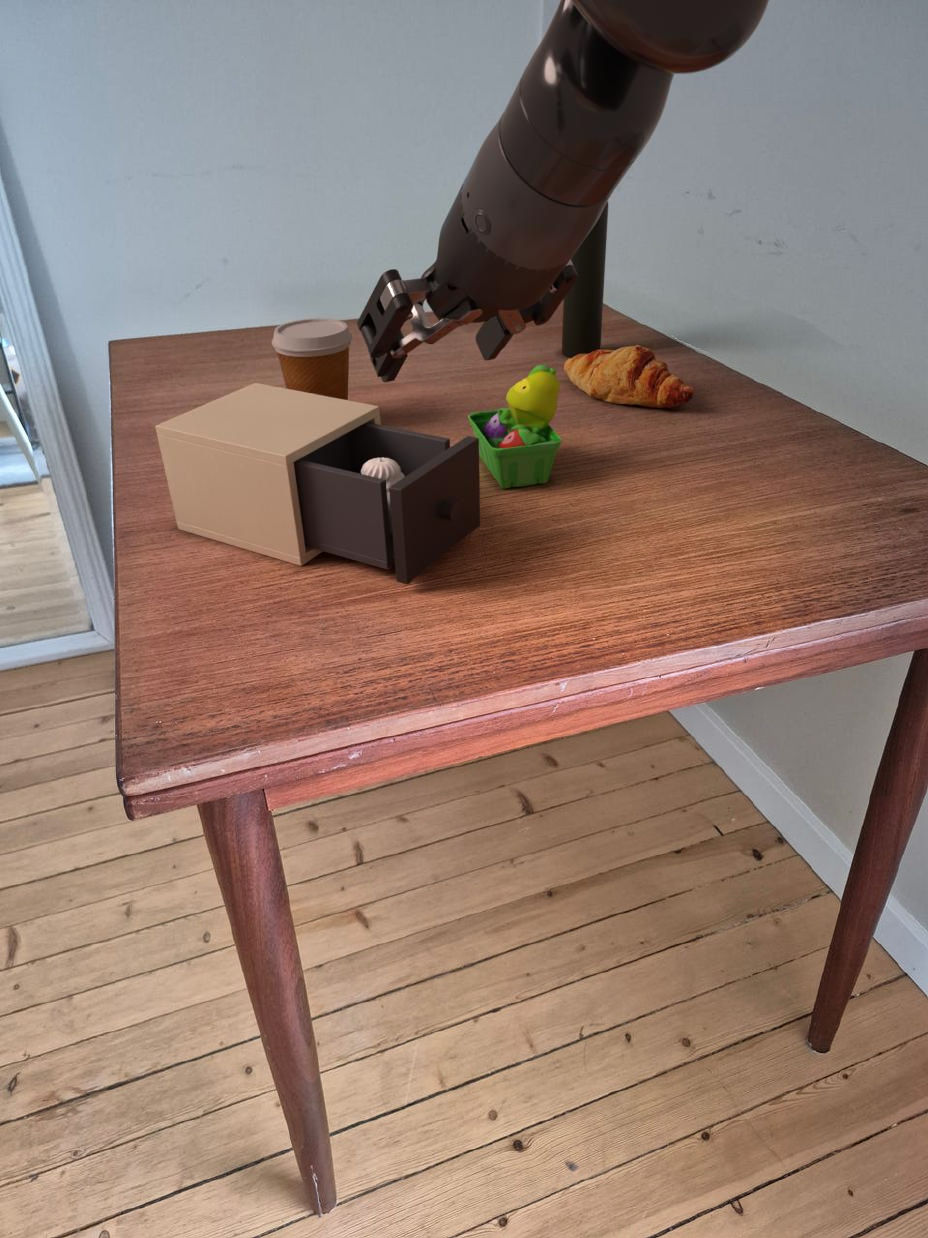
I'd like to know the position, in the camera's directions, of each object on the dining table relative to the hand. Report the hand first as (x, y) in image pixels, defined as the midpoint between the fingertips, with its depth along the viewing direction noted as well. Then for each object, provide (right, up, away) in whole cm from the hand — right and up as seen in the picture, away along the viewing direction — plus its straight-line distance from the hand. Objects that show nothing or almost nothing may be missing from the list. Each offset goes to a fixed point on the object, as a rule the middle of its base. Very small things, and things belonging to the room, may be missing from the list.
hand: (434, 359), depth 66 cm
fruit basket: (+8, -3, +34) cm, 35 cm away
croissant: (+24, +11, +53) cm, 59 cm away
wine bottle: (+20, +21, +69) cm, 75 cm away
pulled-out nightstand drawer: (-5, -11, +19) cm, 23 cm away
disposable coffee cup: (-16, +5, +47) cm, 50 cm away
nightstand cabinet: (-16, -9, +25) cm, 31 cm away
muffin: (-5, -11, +18) cm, 22 cm away
